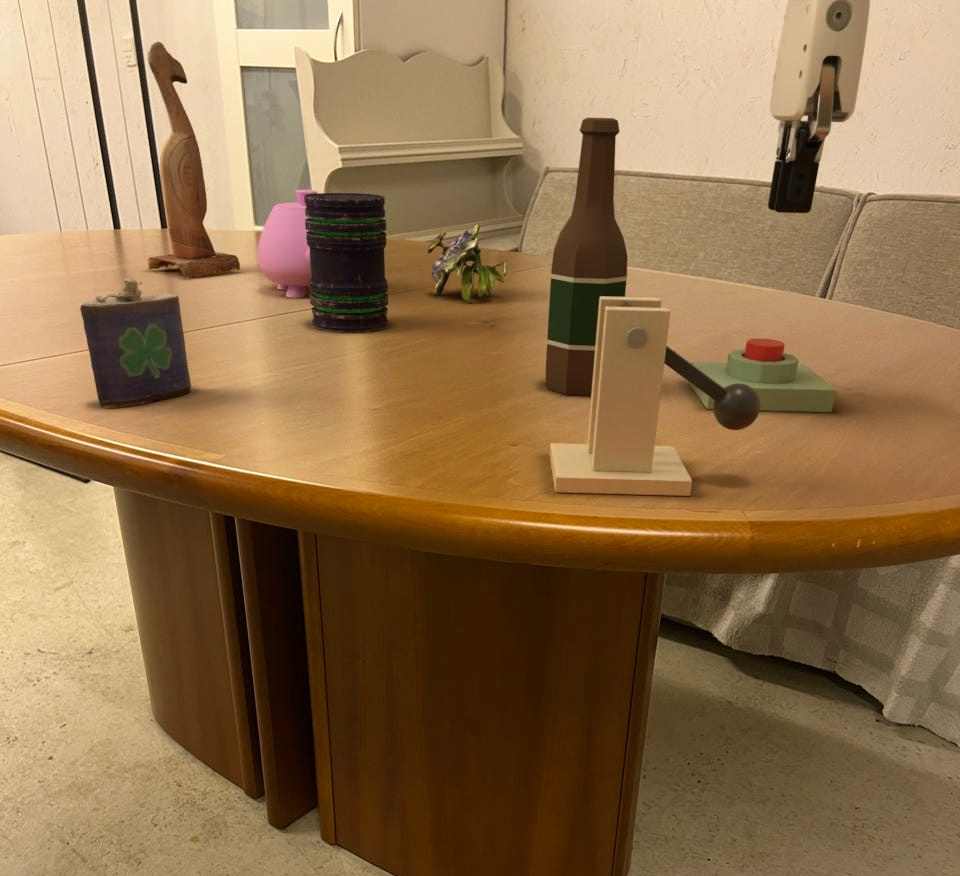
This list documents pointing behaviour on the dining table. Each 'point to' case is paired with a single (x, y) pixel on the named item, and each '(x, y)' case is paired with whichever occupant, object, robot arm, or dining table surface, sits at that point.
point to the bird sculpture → (183, 181)
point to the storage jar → (347, 261)
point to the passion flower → (464, 264)
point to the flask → (136, 347)
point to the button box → (771, 383)
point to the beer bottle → (585, 264)
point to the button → (764, 350)
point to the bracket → (624, 409)
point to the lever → (718, 393)
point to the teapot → (286, 247)
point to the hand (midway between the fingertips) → (788, 210)
